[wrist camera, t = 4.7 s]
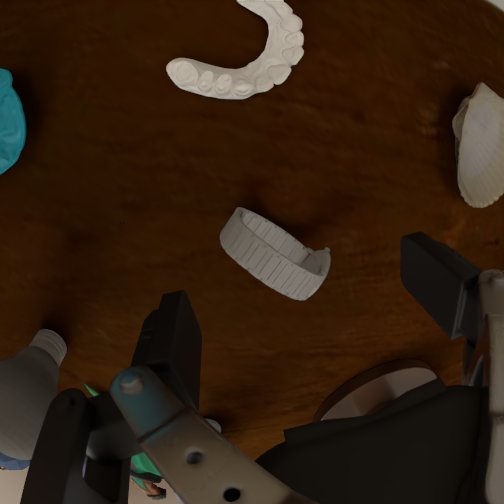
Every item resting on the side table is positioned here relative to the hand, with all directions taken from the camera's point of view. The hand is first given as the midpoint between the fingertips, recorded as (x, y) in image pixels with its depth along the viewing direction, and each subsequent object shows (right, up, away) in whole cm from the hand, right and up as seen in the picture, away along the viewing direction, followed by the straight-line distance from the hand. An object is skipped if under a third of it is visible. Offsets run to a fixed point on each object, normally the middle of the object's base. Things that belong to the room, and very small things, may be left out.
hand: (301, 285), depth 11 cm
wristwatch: (-1, +2, +6) cm, 7 cm away
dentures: (-2, +10, 0) cm, 10 cm away
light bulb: (-16, -5, +8) cm, 18 cm away
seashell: (+13, +9, +5) cm, 16 cm away
